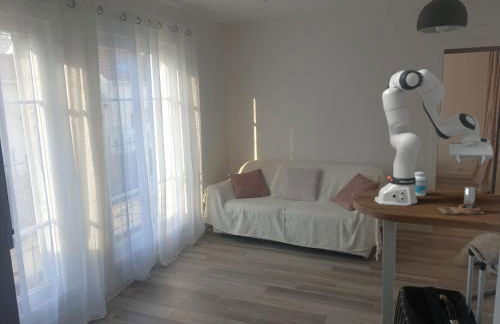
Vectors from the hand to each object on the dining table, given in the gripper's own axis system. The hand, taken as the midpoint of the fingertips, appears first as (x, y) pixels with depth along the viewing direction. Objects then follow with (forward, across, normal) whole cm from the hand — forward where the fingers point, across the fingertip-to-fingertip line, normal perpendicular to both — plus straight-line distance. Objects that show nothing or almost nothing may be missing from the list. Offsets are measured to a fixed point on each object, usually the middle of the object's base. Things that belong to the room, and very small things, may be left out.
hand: (470, 163), depth 192 cm
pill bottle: (+6, -25, +25) cm, 36 cm away
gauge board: (+27, -4, +4) cm, 27 cm away
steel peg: (+25, -1, +4) cm, 25 cm away
